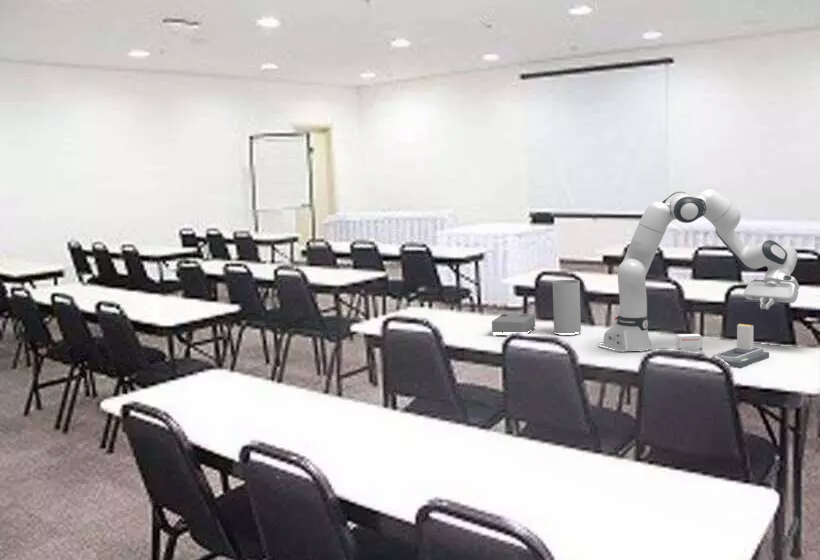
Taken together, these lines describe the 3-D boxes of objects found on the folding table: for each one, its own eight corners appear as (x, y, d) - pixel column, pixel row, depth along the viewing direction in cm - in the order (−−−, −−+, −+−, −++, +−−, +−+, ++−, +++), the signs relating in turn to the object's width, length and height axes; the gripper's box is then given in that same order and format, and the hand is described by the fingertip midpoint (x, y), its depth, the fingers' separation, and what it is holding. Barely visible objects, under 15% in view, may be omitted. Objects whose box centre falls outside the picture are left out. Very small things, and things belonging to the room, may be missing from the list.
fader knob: (735, 351, 291) (735, 324, 290) (740, 349, 294) (740, 322, 292) (750, 353, 287) (750, 326, 285) (755, 352, 289) (755, 324, 288)
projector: (536, 328, 369) (535, 313, 368) (525, 338, 349) (524, 321, 348) (503, 327, 375) (503, 312, 374) (491, 337, 355) (490, 321, 354)
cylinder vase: (559, 330, 361) (557, 279, 358) (584, 331, 355) (582, 280, 352) (550, 335, 350) (548, 283, 347) (576, 336, 344) (575, 283, 341)
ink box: (699, 363, 286) (699, 333, 285) (702, 366, 281) (702, 335, 280) (676, 363, 287) (675, 333, 286) (679, 366, 282) (679, 336, 281)
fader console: (707, 362, 286) (707, 354, 285) (737, 352, 299) (737, 344, 299) (740, 368, 276) (740, 359, 275) (769, 357, 289) (769, 348, 289)
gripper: (748, 274, 308) (736, 301, 303) (798, 277, 292) (786, 305, 287) (753, 284, 311) (741, 310, 307) (803, 287, 295) (792, 315, 291)
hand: (763, 308), depth 297 cm, fingers closed
